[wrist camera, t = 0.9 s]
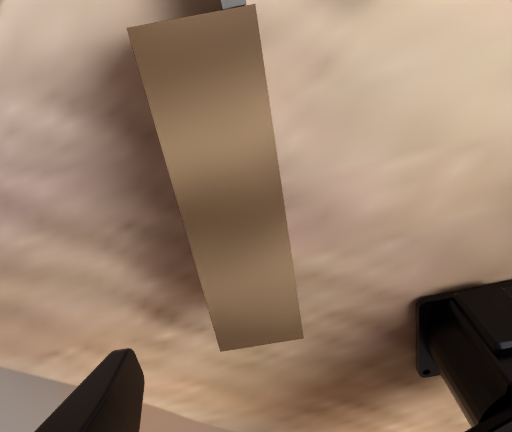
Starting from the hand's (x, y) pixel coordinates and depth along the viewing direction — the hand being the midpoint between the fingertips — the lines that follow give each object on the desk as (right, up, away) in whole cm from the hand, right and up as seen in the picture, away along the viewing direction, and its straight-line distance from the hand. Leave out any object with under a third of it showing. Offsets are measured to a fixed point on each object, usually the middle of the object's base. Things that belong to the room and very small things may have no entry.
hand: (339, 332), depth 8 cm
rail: (-3, +5, +11) cm, 12 cm away
